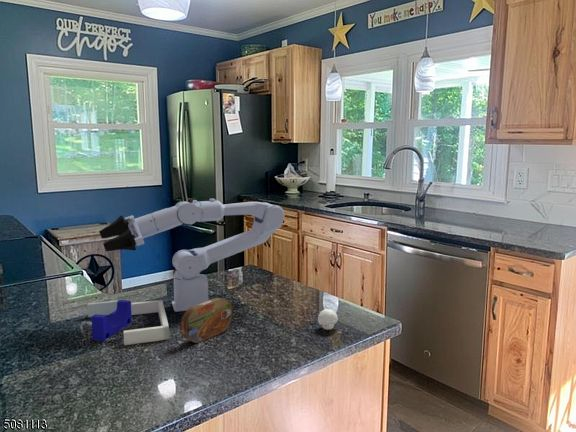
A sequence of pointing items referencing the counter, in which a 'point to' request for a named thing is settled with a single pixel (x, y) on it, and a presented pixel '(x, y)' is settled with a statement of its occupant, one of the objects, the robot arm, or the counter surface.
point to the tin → (206, 319)
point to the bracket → (152, 332)
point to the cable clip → (111, 321)
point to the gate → (102, 308)
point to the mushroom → (327, 319)
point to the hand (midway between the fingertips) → (102, 241)
